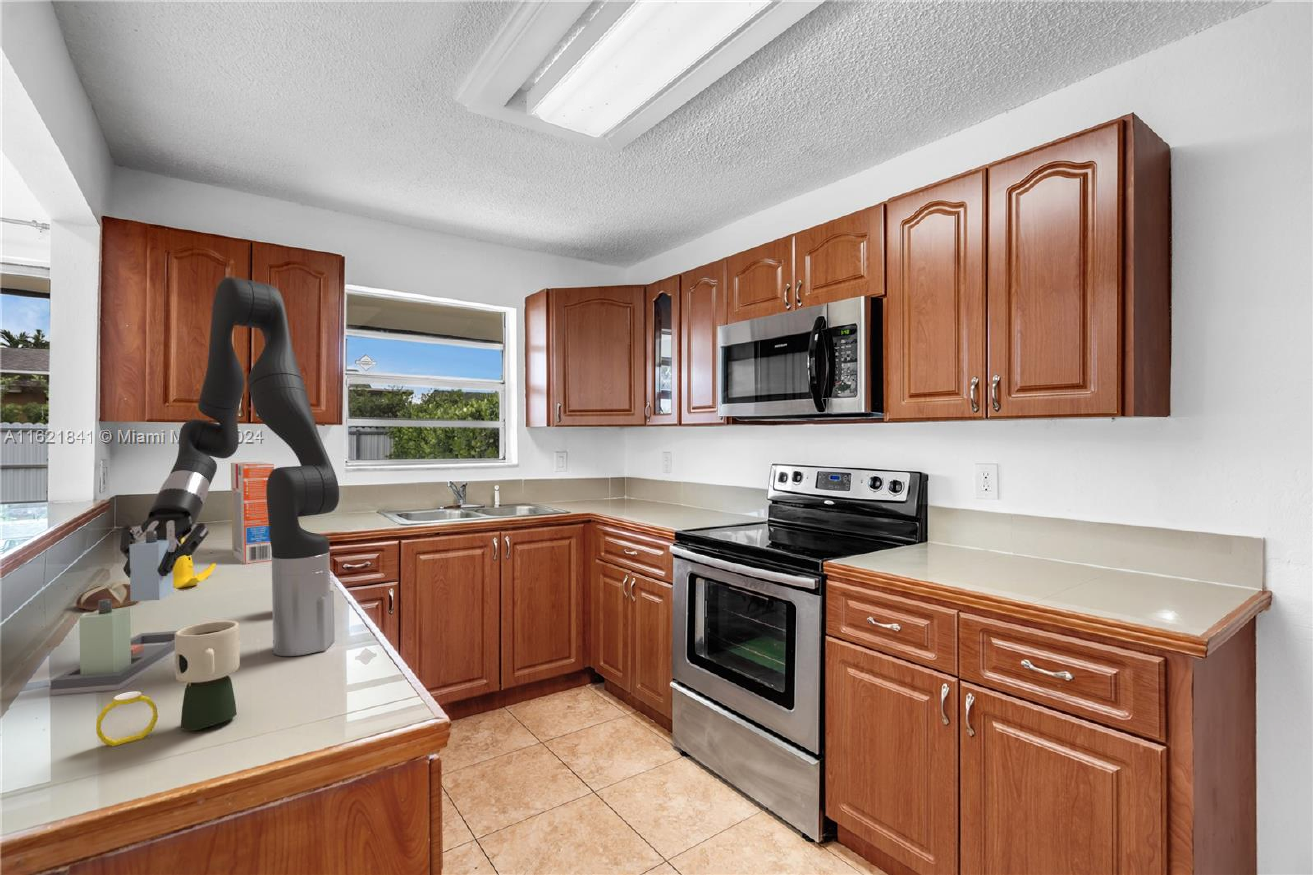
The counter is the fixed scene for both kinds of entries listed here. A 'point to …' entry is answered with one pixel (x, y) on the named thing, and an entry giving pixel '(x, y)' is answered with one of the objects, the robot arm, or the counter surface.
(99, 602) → the green knobbed block
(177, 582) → the banana peel
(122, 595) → the bread
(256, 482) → the pasta box
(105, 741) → the watch
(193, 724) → the character mug
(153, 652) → the grey rimmed tray
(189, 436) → the robot arm
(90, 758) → the counter surface
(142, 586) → the plug
